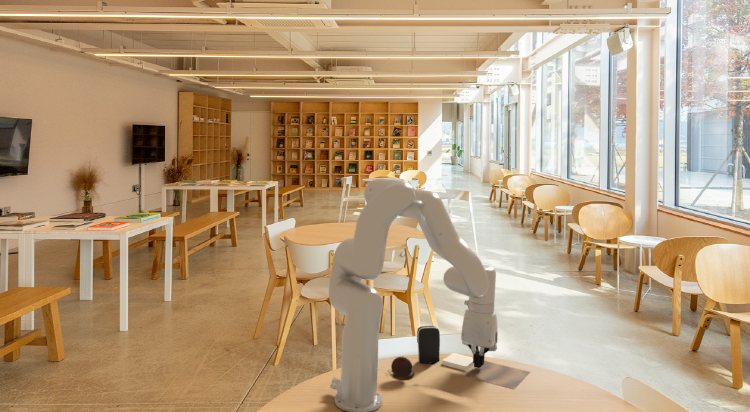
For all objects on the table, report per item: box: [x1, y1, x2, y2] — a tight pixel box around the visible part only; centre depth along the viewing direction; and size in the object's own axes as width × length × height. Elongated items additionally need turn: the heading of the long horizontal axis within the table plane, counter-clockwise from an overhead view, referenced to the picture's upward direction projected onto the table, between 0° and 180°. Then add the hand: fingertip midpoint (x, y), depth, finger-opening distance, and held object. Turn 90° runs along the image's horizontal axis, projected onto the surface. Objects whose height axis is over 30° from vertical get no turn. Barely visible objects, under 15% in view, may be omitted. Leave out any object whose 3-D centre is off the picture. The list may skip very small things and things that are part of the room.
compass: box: [387, 355, 415, 380], centre depth 161 cm, size 8×8×7 cm
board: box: [464, 360, 531, 390], centre depth 161 cm, size 15×15×2 cm
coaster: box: [441, 352, 474, 372], centre depth 168 cm, size 8×8×2 cm
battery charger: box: [416, 325, 441, 365], centre depth 172 cm, size 7×4×11 cm, turn 98°
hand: (478, 366), depth 164 cm, fingers closed
